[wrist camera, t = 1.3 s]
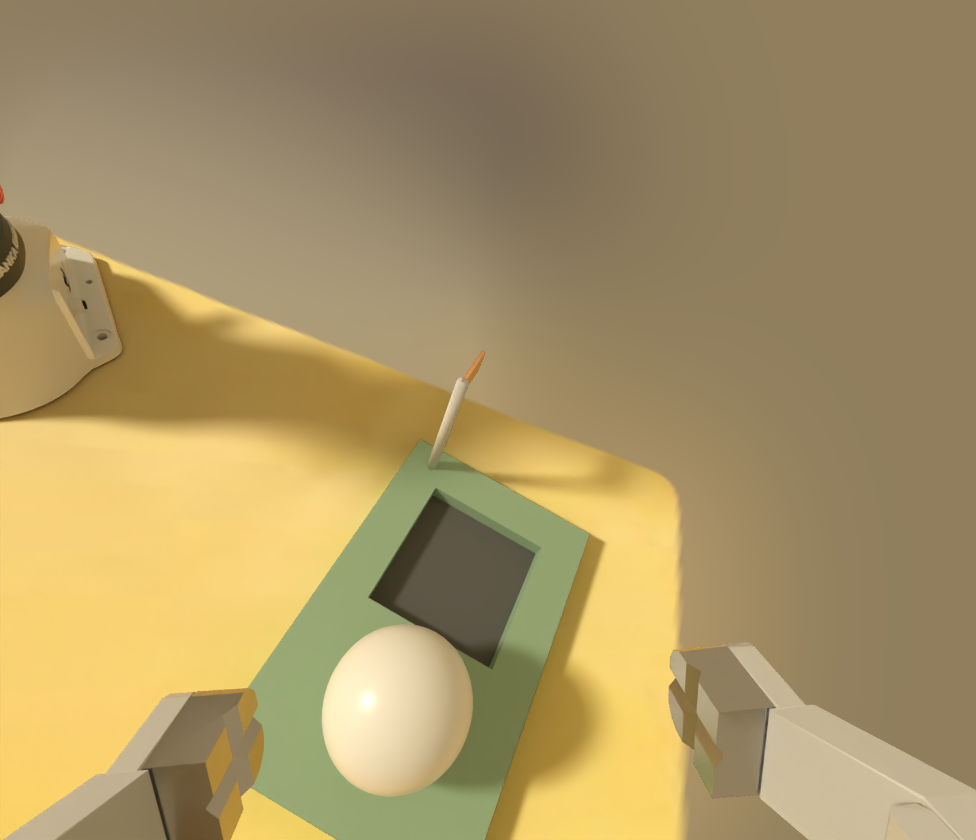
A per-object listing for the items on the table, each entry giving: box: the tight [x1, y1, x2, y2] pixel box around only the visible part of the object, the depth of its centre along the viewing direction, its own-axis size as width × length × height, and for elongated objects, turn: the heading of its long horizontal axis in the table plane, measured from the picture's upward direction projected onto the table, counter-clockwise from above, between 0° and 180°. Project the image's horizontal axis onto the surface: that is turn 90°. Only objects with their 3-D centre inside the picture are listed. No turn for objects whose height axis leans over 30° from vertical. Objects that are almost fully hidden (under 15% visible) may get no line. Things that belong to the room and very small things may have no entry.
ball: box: [322, 624, 473, 797], centre depth 33 cm, size 10×10×10 cm
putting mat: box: [248, 351, 589, 840], centre depth 37 cm, size 32×20×16 cm, turn 155°
